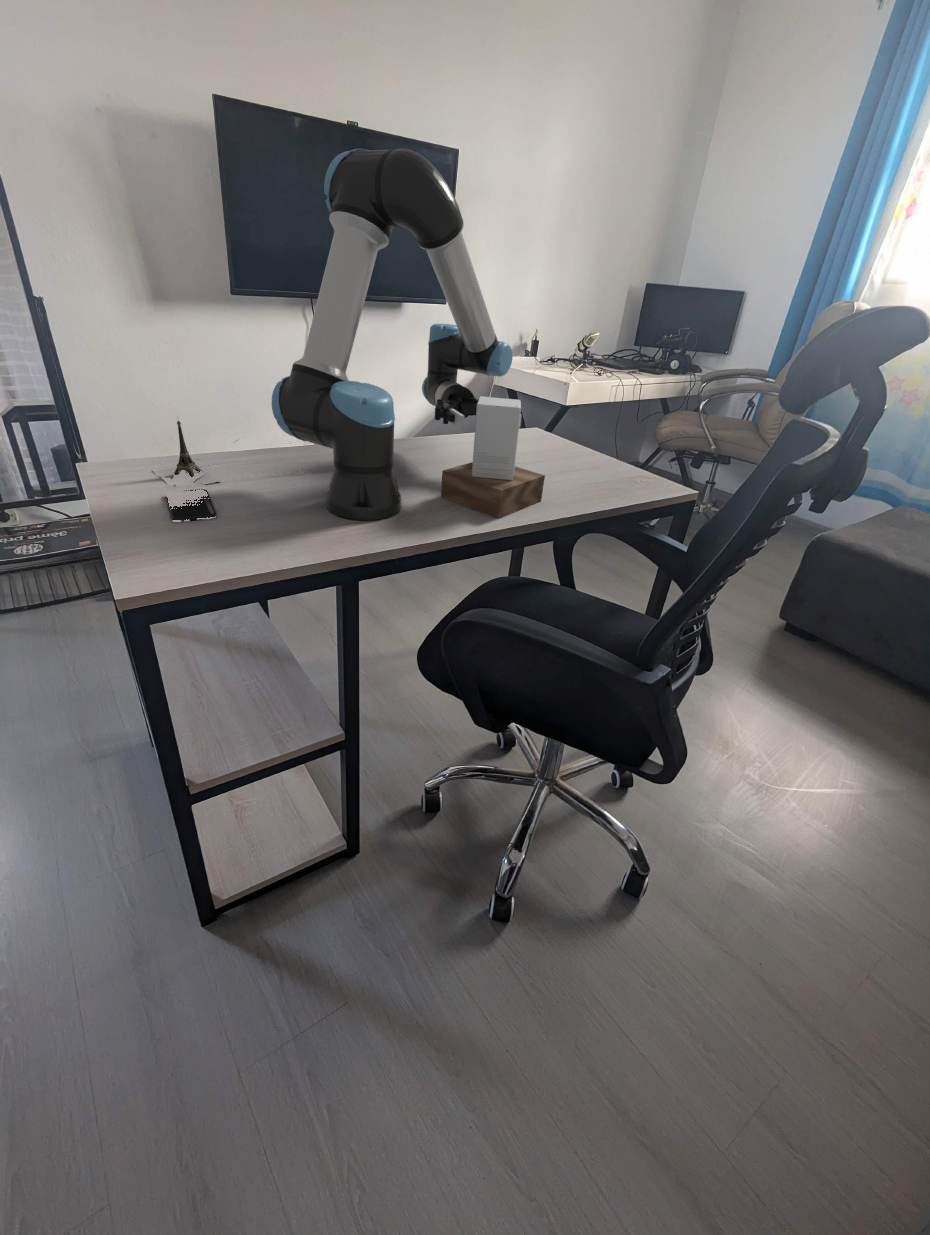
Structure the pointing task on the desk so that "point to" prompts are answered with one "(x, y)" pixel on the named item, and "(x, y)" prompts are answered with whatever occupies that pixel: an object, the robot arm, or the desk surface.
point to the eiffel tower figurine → (184, 456)
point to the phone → (193, 509)
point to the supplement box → (496, 437)
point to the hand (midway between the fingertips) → (491, 421)
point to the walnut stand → (492, 490)
